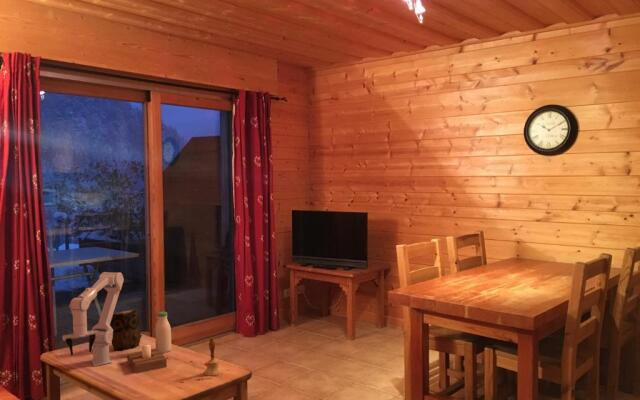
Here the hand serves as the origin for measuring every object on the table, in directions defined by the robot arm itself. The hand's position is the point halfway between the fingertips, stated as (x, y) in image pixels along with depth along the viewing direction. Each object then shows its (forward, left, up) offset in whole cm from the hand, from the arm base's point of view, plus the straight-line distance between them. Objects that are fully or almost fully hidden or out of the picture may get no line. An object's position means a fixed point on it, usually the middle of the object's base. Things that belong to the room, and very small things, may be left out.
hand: (81, 353), depth 240 cm
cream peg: (+5, +28, -9) cm, 30 cm away
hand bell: (+33, +51, -10) cm, 62 cm away
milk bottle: (-10, +40, -10) cm, 42 cm away
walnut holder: (+5, +28, -9) cm, 30 cm away
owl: (-28, +25, -10) cm, 39 cm away
